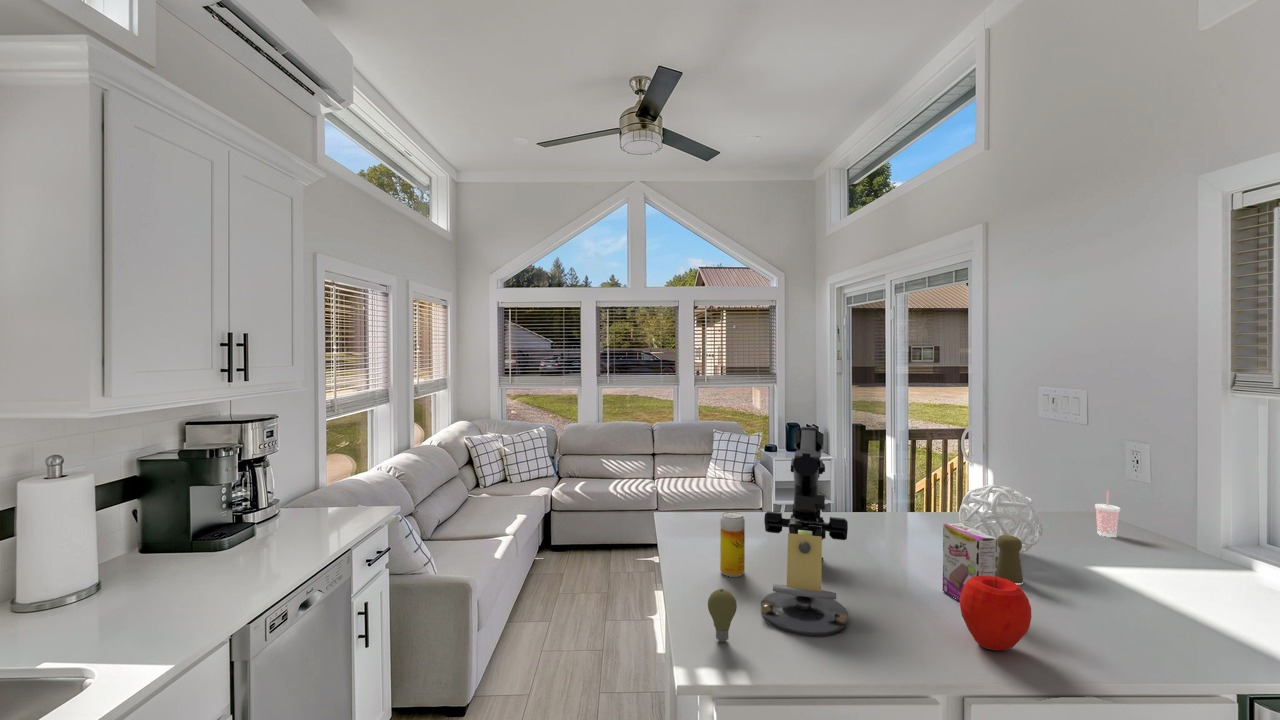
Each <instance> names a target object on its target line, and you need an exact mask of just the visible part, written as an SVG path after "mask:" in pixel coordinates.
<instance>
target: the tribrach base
mask: <svg viewBox="0 0 1280 720" xmlns="http://www.w3.org/2000/svg"><path fill="white" fill-rule="evenodd" d="M760 614H761V616H762V618H763V619H764V620H765V621H766V622H767V623H768V624H769V625H771V626H773V627H774V628H776V629H778V630H780V631H783V632H786V633H789V634H794V635H795V636H798V635H799V636H802V637H813V638H822V637H823V638H824V637H831V636H835V635H836V636H837V635H839V634H840V633H843V632H844V631H846V630H847V628H848V627H849V620H850V619H849V617H850V616H849V615H850V614H849V611H848V610H847V609H846V607H845V606H844V605H843V604H841V603H840V602H839V601H838V600H836V599H821V598H812V597H804V596H797V595H790V594H784V593H779V592H775V591H773V592H770V593H768V594H767V595H765V596H764V597H762V599H761V601H760Z"/></svg>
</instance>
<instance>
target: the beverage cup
mask: <svg viewBox="0 0 1280 720" xmlns="http://www.w3.org/2000/svg"><path fill="white" fill-rule="evenodd" d="M1109 492H1110V490H1109V489H1107V490H1106V503H1095V504H1094V509H1095V515H1096V516H1095V517H1096V531H1097V532H1096V533H1098V534H1099V536H1101V535H1102V536H1101V537H1104V536H1106V537H1105V538H1111V537H1115V538H1117V534H1118V524H1119V523H1118V522H1119V514H1120V512H1121V507H1120V506H1116V505H1113V504H1109V501H1110V499H1109V497H1110V493H1109ZM1098 534H1097V535H1098Z"/></svg>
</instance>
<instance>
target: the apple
mask: <svg viewBox="0 0 1280 720" xmlns="http://www.w3.org/2000/svg"><path fill="white" fill-rule="evenodd" d="M1025 593H1026V592H1024V590H1023V588H1022V587H1020V585H1016V584H1015V583H1013V582H1012V581H1009V580H1007V579H1004V578H1000V577H994V576H975V577H971V578H970V579H969V580H968V581H967V582H966V583H965V585H964V587H963V589H962V592H961V595H960V602H959V601H958V603H959V608H960V613H961V616H962V619H963V621H964V623H965V625H966V628H967V630H968V631H969V633H970V635H971V637H972V638H973V639H974V640H975V642H976V643H977V644H978V645H979V646H981V647H983V649H986V650H987V649H988V650H992V651H1000V652H1001V651H1008V650H1010V649H1012V648H1013V647H1015V646H1016V645H1017V644H1018V643H1019V642H1020V640H1022V639H1023V638H1024V637H1025V636H1026V634H1027V632H1028V630H1029V629H1030V626H1031V621H1032V606H1031V604H1030V600H1029V599H1028V596H1027V595H1026V594H1025Z"/></svg>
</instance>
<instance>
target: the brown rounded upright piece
mask: <svg viewBox="0 0 1280 720" xmlns="http://www.w3.org/2000/svg"><path fill="white" fill-rule="evenodd" d="M997 545H998V547H999V548H1000V549H999V553H998V554H997V555H998V558H997V559H996V577H1000V578H1004V579H1007V580H1009V581H1012V582H1013V583H1022V582H1023V583H1024V578H1023V577H1024V576H1023V572H1022V563H1021V554H1019V551H1020V550H1021V548H1022V542H1021V540H1020V539H1019V537H1018V538H1017V537H1014V535H1012V536H1010V535H1001V536H999V537H998V539H997Z"/></svg>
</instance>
